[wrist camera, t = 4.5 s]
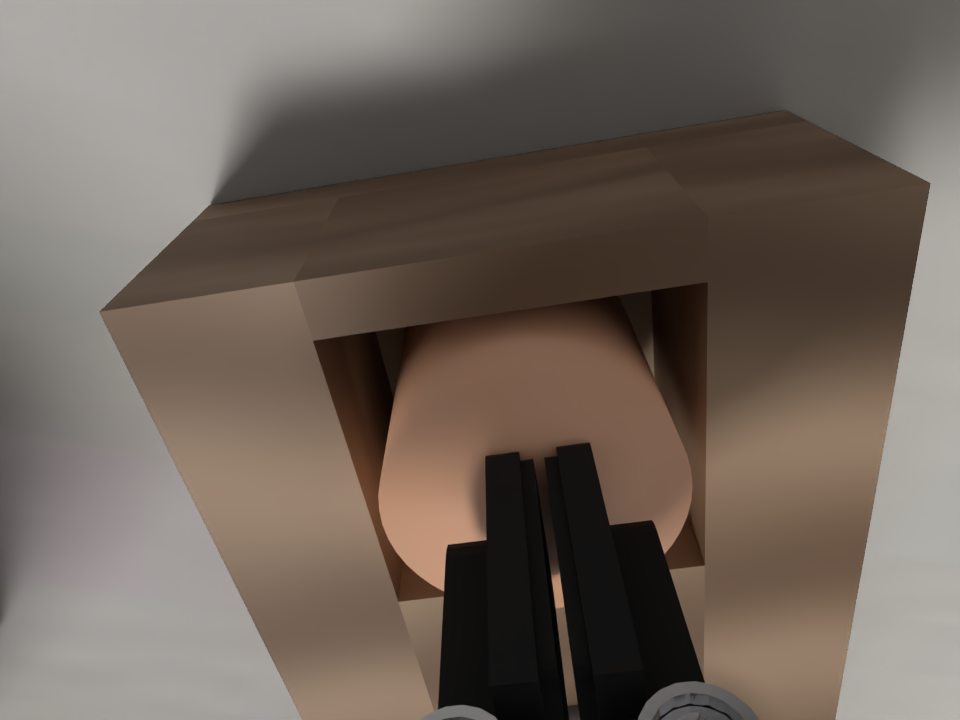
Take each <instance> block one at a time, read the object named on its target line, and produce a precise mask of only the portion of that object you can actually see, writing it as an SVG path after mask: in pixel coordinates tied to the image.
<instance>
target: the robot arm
mask: <svg viewBox="0 0 960 720" xmlns="http://www.w3.org/2000/svg"><path fill="white" fill-rule="evenodd" d="M556 450H557V456H552V457H544V460H545V468H546V475H547V483H548V490H549V497H550V505H551V512H552V519H553V527H554V534H555V541H556V549H557V556H558V563H559V571H560V578H561V585H562V593H563V600H564V608H565V615H566V622H567V630H568V637H569V644H570V652H571V659H572V666H573V673H574V680H575V687H576V694H577V701H578V708H579V715H580V720H759V719H758V717H757V716H756V715H755V713H754V712H753V711H752V709H751V708H750V707H749V706H748V705H747V704H746V703H744V702H743V701H742V700H741V699H739V698H738V697H737V696H736V695H735V694H733V693H731V692H729V691H727V690H725V689H722V688H720V687H718V686H716V685H713V684H708V683H705V681H704V678H703V675H702V671H701V668H700V665H699V662H698V659H697V656H696V652H695V649H694V646H693V643H692V640H691V637H690V633H689V630H688V627H687V624H686V621H685V618H684V614H683V611H682V608H681V605H680V602H679V599H678V595H677V592H676V589H675V586H674V583H673V580H672V576H671V573H670V570H669V567H668V564H667V561H666V557H665V554H664V551H663V548H662V545H661V542H660V538H659V535H658V532H657V529H656V527H655V524H654V522H653V521H652V520H648V521H640V522H632V523H623V524H615V525H610V524H609V520H608V516H607V511H606V507H605V503H604V499H603V495H602V490H601V486H600V482H599V478H598V473H597V469H596V465H595V461H594V456H593V452H592V448H591V444H590V442H589V443H581V444H573V445H566V446H558V447H556ZM485 480H486V538H487V540H482V541H474V542H466V543H458V544H449V545H448V546H447V550H446V561H445V580H444V600H443V620H442V639H441V659H440V678H439V698H438V710H436V711H434V712H431V713H429V714H427V715H426V716H425V717H424V718H422V719H421V720H569V713H568V705H567V697H566V689H565V680H564V672H563V664H562V656H561V648H560V639H559V631H558V623H557V615H556V607H555V598H554V591H553V583H552V576H551V570H550V563H549V557H548V550H547V544H546V537H545V531H544V524H543V518H542V511H541V505H540V498H539V492H538V485H537V479H536V472H535V466H534V460H533V459H529V460H520V454H519V452H512V453H504V454H496V455H489V456H486V457H485Z"/></svg>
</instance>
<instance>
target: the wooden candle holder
mask: <svg viewBox="0 0 960 720" xmlns="http://www.w3.org/2000/svg"><path fill="white" fill-rule="evenodd" d="M929 188H930V183H929V182H927V181H925V180H923V179H921V178H919V177H917V176H915V175H913V174H911V173H909V172H907V171H905V170H903V169H901V168H899V167H897V166H896V165H894V164H892V163H890V162H888V161H886V160H884V159H882V158H880V157H878V156H876V155H874V154H872V153H870V152H868V151H866V150H864V149H862V148H860V147H858V146H856V145H854V144H852V143H850V142H848V141H846V140H844V139H842V138H840V137H838V136H836V135H834V134H832V133H830V132H828V131H826V130H824V129H822V128H820V127H818V126H816V125H814V124H812V123H810V122H808V121H806V120H804V119H802V118H800V117H798V116H796V115H794V114H792V113H791V112H789V111H787V110H786V111H780V112H774V113H767V114H761V115H755V116H749V117H743V118H737V119H731V120H725V121H719V122H713V123H707V124H701V125H695V126H689V127H682V128H676V129H670V130H664V131H658V132H652V133H646V134H640V135H634V136H628V137H622V138H616V139H610V140H604V141H597V142H591V143H585V144H579V145H573V146H567V147H561V148H555V149H549V150H543V151H537V152H531V153H525V154H519V155H513V156H506V157H500V158H494V159H488V160H482V161H476V162H470V163H464V164H458V165H452V166H446V167H440V168H434V169H428V170H421V171H415V172H409V173H403V174H397V175H391V176H385V177H379V178H373V179H367V180H361V181H355V182H349V183H343V184H336V185H330V186H324V187H318V188H312V189H306V190H300V191H294V192H288V193H282V194H276V195H270V196H264V197H258V198H251V199H245V200H239V201H233V202H227V203H221V204H215V205H209V206H208V207H207V208H206V209H205V210H204V211H203V212H202V213H201V214H200V215H199V216H198V217H197V218H196V219H195V220H194V221H193V222H192V223H191V224H190V225H189V226H188V227H186V228H185V229H184V230H183V231H182V232H181V233H180V234H179V235H178V236H177V237H176V238H175V239H174V240H173V241H172V242H171V243H170V244H169V245H168V246H167V247H166V248H165V249H164V250H163V251H162V252H161V253H160V254H159V255H158V256H157V257H155V258H154V259H153V260H152V261H151V262H150V263H149V264H148V265H147V266H146V267H145V268H144V269H143V270H142V271H141V272H140V273H139V274H138V275H137V276H136V277H135V278H134V279H133V280H132V281H131V282H130V283H129V284H128V285H127V286H126V287H124V288H123V289H122V290H121V291H120V292H119V293H118V294H117V295H116V296H115V297H114V298H113V299H112V300H111V301H110V302H109V303H108V304H107V305H106V306H105V307H104V308H103V309H102V310H101V311H100V314H101V316H102V318H103V320H104V322H105V324H106V326H107V328H108V330H109V332H110V334H111V336H112V338H113V340H114V342H115V344H116V346H117V348H118V350H119V352H120V354H121V356H122V358H123V360H124V362H125V364H126V366H127V368H128V370H129V372H130V375H131V377H132V379H133V381H134V383H135V385H136V387H137V389H138V391H139V393H140V395H141V397H142V399H143V401H144V403H145V405H146V407H147V409H148V411H149V413H150V415H151V417H152V419H153V421H154V423H155V425H156V427H157V429H158V431H159V433H160V435H161V437H162V439H163V441H164V443H165V445H166V447H167V449H168V451H169V453H170V455H171V457H172V459H173V461H174V463H175V465H176V467H177V469H178V471H179V473H180V475H181V477H182V479H183V481H184V483H185V485H186V487H187V489H188V491H189V493H190V495H191V497H192V499H193V501H194V503H195V505H196V507H197V509H198V511H199V513H200V515H201V517H202V519H203V521H204V523H205V525H206V527H207V529H208V531H209V533H210V535H211V537H212V539H213V541H214V543H215V545H216V547H217V549H218V551H219V553H220V555H221V557H222V559H223V561H224V563H225V565H226V567H227V569H228V571H229V573H230V575H231V577H232V579H233V581H234V583H235V585H236V587H237V589H238V591H239V593H240V595H241V597H242V599H243V601H244V603H245V605H246V607H247V609H248V611H249V613H250V615H251V617H252V619H253V621H254V623H255V625H256V628H257V630H258V632H259V634H260V636H261V638H262V640H263V642H264V644H265V646H266V648H267V650H268V652H269V654H270V656H271V658H272V660H273V662H274V664H275V666H276V668H277V670H278V672H279V674H280V676H281V678H282V680H283V682H284V684H285V686H286V688H287V690H288V692H289V694H290V696H291V698H292V700H293V702H294V704H295V706H296V708H297V710H298V712H299V714H300V716H301V718H302V720H421V719H422V718H424V717H425V716H426V715H427V714H429V713H431V712H434V711H436V710H438V698H439V678H440V659H441V639H442V620H443V600H444V591H442V590H440V589H438V588H437V587H435V586H433V585H431V584H430V583H428V582H427V581H426V580H424V579H423V578H421V577H420V576H419V575H417V574H416V573H415V572H414V571H413V570H412V569H411V568H410V567H409V566H408V565H406V563H405V562H404V561H403V560H402V559H401V557H400V556H399V555H398V554H397V553H396V551H395V549H394V548H393V546H392V544H391V543H390V541H389V539H388V537H387V535H386V532H385V530H384V527H383V525H382V521H381V516H380V512H379V499H378V493H379V485H380V477H381V471H382V466H383V460H384V454H385V448H386V443H387V437H388V431H389V425H390V420H391V414H392V408H393V402H394V397H395V391H396V385H397V379H398V373H399V368H400V362H401V356H402V350H403V345H404V339H405V333H406V327H409V326H415V325H422V324H429V323H436V322H442V321H449V320H456V319H463V318H469V317H476V316H483V315H490V314H496V313H503V312H510V311H517V310H523V309H530V308H537V307H544V306H550V305H557V304H564V303H571V302H577V301H584V300H591V299H598V298H604V297H611V296H619V298H620V300H621V302H622V304H623V306H624V308H625V311H626V313H627V315H628V318H629V320H630V322H631V325H632V327H633V329H634V332H635V334H636V336H637V339H638V341H639V343H640V346H641V348H642V350H643V353H644V355H645V357H646V360H647V362H648V364H649V367H650V369H651V371H652V374H653V376H654V379H655V381H656V383H657V386H658V388H659V390H660V393H661V395H662V397H663V400H664V402H665V404H666V407H667V409H668V411H669V414H670V416H671V418H672V421H673V423H674V425H675V428H676V430H677V432H678V435H679V437H680V439H681V442H682V444H683V446H684V449H685V451H686V453H687V456H688V460H689V464H690V467H691V473H692V484H693V487H692V499H691V504H690V508H689V512H688V516H687V518H686V521H685V523H684V525H683V528H682V530H681V532H680V533H679V535H678V537H677V538H676V540H675V541H674V543H673V545H672V546H671V547H670V548H669V549H668V551H667V552H666V553H665V557H666V561H667V564H668V567H669V570H670V573H671V576H672V580H673V583H674V586H675V589H676V592H677V595H678V599H679V602H680V605H681V608H682V611H683V614H684V618H685V621H686V624H687V627H688V630H689V633H690V637H691V640H692V643H693V646H694V649H695V652H696V656H697V659H698V662H699V665H700V668H701V671H702V675H703V678H704V681H705V683H708V684H713V685H716V686H718V687H720V688H722V689H725V690H727V691H729V692H731V693H733V694H735V695H736V696H737V697H738V698H739V699H741V700H742V701H743V702H744V703H746V704H747V705H748V706H749V707H750V708H751V709H752V711H753V712H754V713H755V715H756V716H757V717H758V719H759V720H835V717H836V712H837V706H838V700H839V695H840V689H841V683H842V678H843V672H844V667H845V661H846V655H847V650H848V644H849V638H850V633H851V627H852V622H853V616H854V610H855V605H856V599H857V593H858V588H859V582H860V577H861V571H862V565H863V560H864V554H865V548H866V543H867V537H868V532H869V526H870V520H871V515H872V509H873V503H874V498H875V492H876V486H877V481H878V475H879V470H880V464H881V458H882V453H883V447H884V441H885V436H886V430H887V425H888V419H889V413H890V408H891V402H892V396H893V391H894V385H895V380H896V374H897V368H898V363H899V357H900V351H901V346H902V340H903V335H904V329H905V323H906V318H907V312H908V306H909V301H910V295H911V290H912V284H913V278H914V273H915V267H916V261H917V256H918V250H919V244H920V239H921V233H922V228H923V222H924V216H925V211H926V205H927V199H928V194H929ZM556 615H557V623H558V631H559V639H560V648H561V656H562V664H563V672H564V680H565V689H566V697H567V705H568V706H570V705H578V701H577V694H576V687H575V680H574V673H573V666H572V659H571V652H570V644H569V637H568V630H567V622H566V615H565V608H564V607H562V608H556Z"/></svg>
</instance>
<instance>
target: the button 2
mask: <svg viewBox="0 0 960 720" xmlns="http://www.w3.org/2000/svg"><path fill="white" fill-rule="evenodd" d="M589 442H590V444H591V448H592V452H593V456H594V461H595V465H596V469H597V473H598V478H599V482H600V486H601V490H602V495H603V499H604V503H605V507H606V511H607V516H608V520H609V524H610V525H615V524H623V523H632V522H640V521H648V520H652V521H653V522H654V524H655V527H656V529H657V532H658V535H659V538H660V542H661V545H662V548H663V551H664V554H665V553H666V552H667V551H668V549H669V548H670V547H671V546H672V545H673V543H674V541H675V540H676V538H677V537H678V535H679V533H680V532H681V530H682V528H683V525H684V523H685V521H686V518H687V516H688V512H689V508H690V504H691V499H692V487H693V484H692V473H691V467H690V464H689V460H688V456H687V453H686V451H685V449H684V446H683V444H682V442H681V439H680V437H679V435H678V432H677V430H676V428H675V425H674V423H673V421H672V418H671V416H670V414H669V411H668V409H667V407H666V404H665V402H664V400H663V397H662V395H661V393H660V390H659V388H658V386H657V383H656V381H655V379H654V376H653V374H652V371H651V369H650V367H649V364H648V362H647V360H646V357H645V355H644V353H643V350H642V348H641V346H640V343H639V341H638V339H637V336H636V334H635V332H634V329H633V327H632V325H631V322H630V320H629V318H628V315H627V313H626V311H625V308H624V306H623V304H622V302H621V300H620V298H619V296H611V297H604V298H598V299H591V300H584V301H577V302H571V303H564V304H557V305H550V306H544V307H537V308H530V309H523V310H517V311H510V312H503V313H496V314H490V315H483V316H476V317H469V318H463V319H456V320H449V321H442V322H436V323H429V324H422V325H415V326H409V327H406V333H405V339H404V345H403V350H402V356H401V362H400V368H399V373H398V379H397V385H396V391H395V397H394V402H393V408H392V414H391V420H390V425H389V431H388V437H387V443H386V448H385V454H384V460H383V466H382V471H381V477H380V485H379V493H378V499H379V512H380V516H381V521H382V525H383V527H384V530H385V532H386V535H387V537H388V539H389V541H390V543H391V544H392V546H393V548H394V549H395V551H396V553H397V554H398V555H399V556H400V557H401V559H402V560H403V561H404V562H405V563H406V565H408V566H409V567H410V568H411V569H412V570H413V571H414V572H415V573H416V574H417V575H419V576H420V577H421V578H423V579H424V580H426V581H427V582H428V583H430V584H431V585H433V586H435V587H437V588H438V589H440V590H442V591H444V580H445V561H446V550H447V546H448V545H449V544H458V543H466V542H474V541H482V540H487V538H486V480H485V457H486V456H489V455H496V454H504V453H512V452H519V454H520V460H529V459H533V460H534V466H535V472H536V479H537V485H538V492H539V498H540V505H541V511H542V518H543V524H544V531H545V537H546V544H547V550H548V557H549V563H550V570H551V576H552V583H553V591H554V598H555V607H556V608H562V607H564V600H563V593H562V585H561V578H560V571H559V563H558V556H557V549H556V541H555V534H554V527H553V519H552V512H551V505H550V497H549V490H548V483H547V475H546V468H545V460H544V457H552V456H557V450H556V447H558V446H566V445H573V444H581V443H589Z"/></svg>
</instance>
